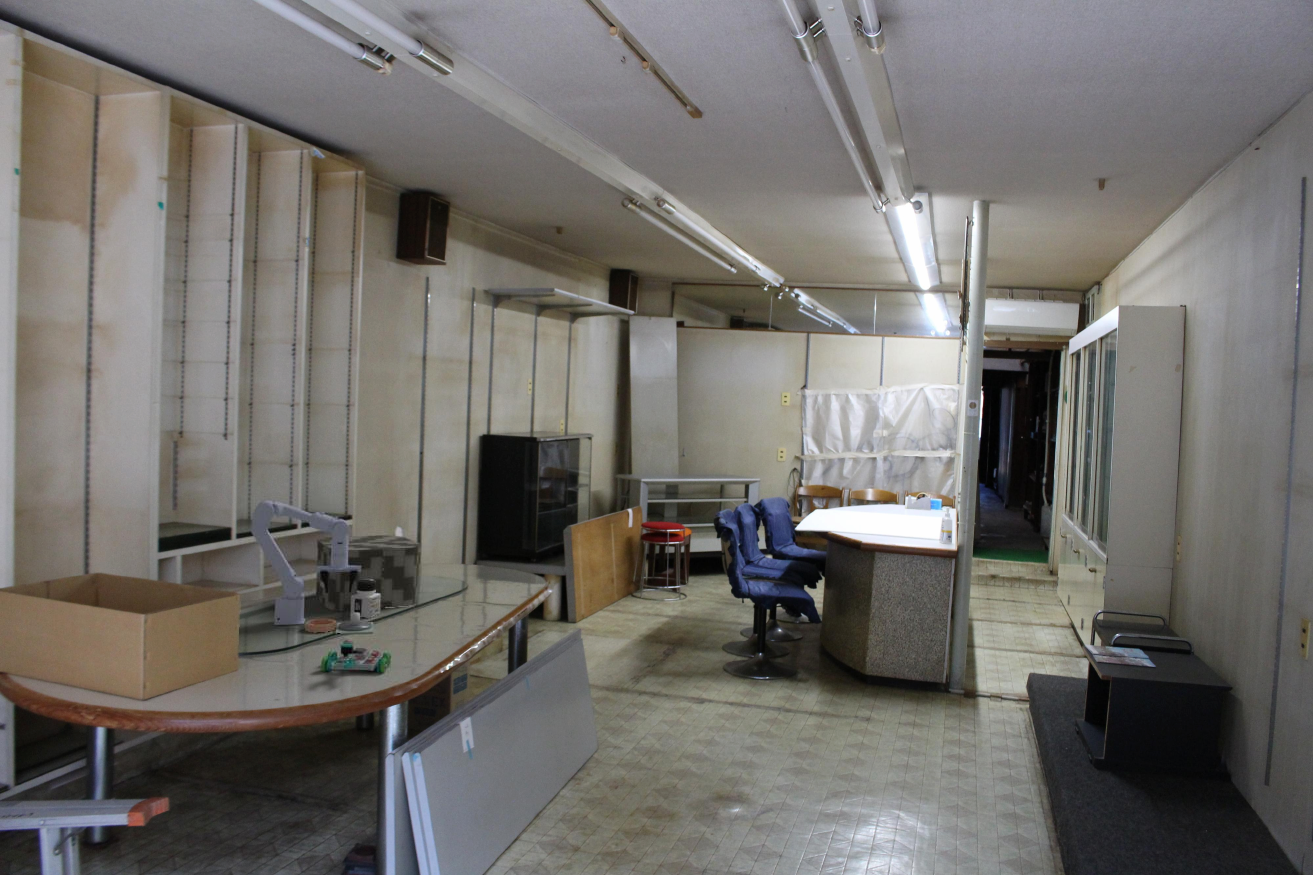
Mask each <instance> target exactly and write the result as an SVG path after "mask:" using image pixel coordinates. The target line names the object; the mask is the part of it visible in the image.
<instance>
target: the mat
mask: <svg viewBox="0 0 1313 875" xmlns="http://www.w3.org/2000/svg"><path fill="white" fill-rule="evenodd" d="M367 622H368V621H367ZM341 623H342V622H336V629H335V631H334V632H335V633H334V635H338V634H337V633H340V634H339V635H350V634H351V635H354V634H357V635H358V634H359V635H360V634H363V635H365V634H374V621H369V622H368V623H371V624H372V627H371V628H370V629H368V630H363V631H344V630H340V629H338V625H339V624H341Z"/></svg>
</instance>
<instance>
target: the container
mask: <svg viewBox="0 0 1313 875" xmlns="http://www.w3.org/2000/svg"><path fill="white" fill-rule="evenodd" d="M375 592H376V582H375V581H374V580H371V579H363V580H360V581H358V582H357V593H358V594H355V595H352V596H351V612H350V617H351V613H355V612H357V613H360V618H361V617H365V618H364V619H371V618H374V617H376V616H378V615H377V614H379V615H380V614H381V609H380V599H381V594H379V593H375ZM375 615H376V616H375ZM373 616H374V617H373ZM370 617H371V618H370Z"/></svg>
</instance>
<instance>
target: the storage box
mask: <svg viewBox="0 0 1313 875" xmlns="http://www.w3.org/2000/svg"><path fill="white" fill-rule="evenodd" d="M331 542H332V536H331V537H330V536H329V537H322V538H317V539H316V548H317V555H316V556H317V558H316V560H317V562H316V568H317V567H318V566H331ZM348 542H349V543H348V565H353V566H361V572H358V573H357V576H356V578H355V580H354V582H353V585H352V590H351V593H349V585H350V572H329V576H328V588H329V590H328V593H326V590H325V585H324V582H323V580H322V578H321V576H320V573H317V572H316V583H315V584H316V586H315V587H316V588H315V600H316V601H317V602H318V603H320V604H321V605H322V606H323V607H325V608H326V609H327V610H329V609H330V610H329V611H333V610H337V611H336V612H342V611H351V596H352V595H355V594H358V593H357V582H358V581H360V580H363V579H371V580H374V581H375V582H376V592H375V593H379V594H381V599H380V608H385V607H398V606H409V605H414V604H416V603H417V602H418V600H419V599H418V598H419V597H418V596H419V576H420V575H419V570H420V553H421V548H422V547H421V546H422V543H419V542H417V541H414V540H411V539H409V538H407V537H404V536H399V535H386V534H385V535H380V534H379V535H358V536H357V535H355V536H353V535H352V536H349V535H348ZM414 606H415V605H414Z"/></svg>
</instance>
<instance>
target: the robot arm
mask: <svg viewBox="0 0 1313 875" xmlns="http://www.w3.org/2000/svg"><path fill="white" fill-rule="evenodd" d="M274 516H275V518H280V517H285V516H286V517H290V518H293V519H296V520H299V521H303V522H306V523H308V524H309V527H310V528H312V529H315V530H318V531H321V532H324V533H327V534H330V533H331V535H332V536H331V537H332V542H331V566H318V567H317V566H316V574H317V573H320V576H321V578H322V580H323V582H324V585H325V590H326V593H328V590H329V588H328V576H329V572H350V585H349V593H351V590H352V585H353V582H354V580H355V578H356V576H357V573H358V572H361V566H353V565H348V543H349V542H348V537H349V535H348V534H349V533H350V525H349V523H348V522H347V521H346V520H344V519H343V518H339V517H337V516H334V517H333V516H330V515H328V514H325V512H324V511H320V512H319V511H316V512H314V513H310V512H309V511H306V510H302V509H300V508H298V507H295V506H292V505H290V504H287V503H284V502H280V501H275V500H274V501H273V500H272V499H263V500H261V501H260V502H259V503H258V504H257V505H256V507H255V509H254V510H253V512H252V521H251V534H252V535H253V537H254V539H255V540H256V542H257V544H258V545H259V548H261V550H262V552H263V553H264V556H265V557H266V558H267V560H268V562H269V563H270V565H271V566H272V568H273V570H274V571H275V573H276V574H277V576H278V579H279V581H280V584H281V585H282V588H283V589H282V590H283V592H282V593H283V594H282V595H281V596H279V597H276V598H275V604H274V617H273V619H274V623H273V625H275V626H283V625H285V626H287V625H289V626H290V625H293V626H294V625H304V624H305V623H306V617H305V596H306V595H305V594H304V593H303V591H304V588H305V582H304V579H303V578H302V577H301V576H299V575H298V574H297V573H296V572H295V570H294V569H293V568H292V567H291V565H290V564H289V562H288V561H287V559H286V557H285V556H284V554H283V552H282V551H281V550H280V548H279V546H278V545H277V543H276V541H275V540H274V537H273V536H272V534H271V533H270V531H269V526H270V524H271V520H272V519H273V517H274Z"/></svg>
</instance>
